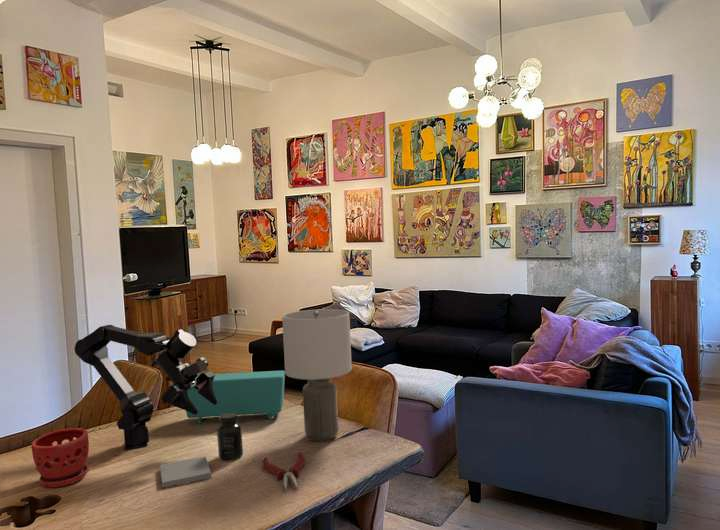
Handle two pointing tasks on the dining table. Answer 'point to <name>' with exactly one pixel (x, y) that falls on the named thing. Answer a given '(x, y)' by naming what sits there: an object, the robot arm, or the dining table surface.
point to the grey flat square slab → (185, 471)
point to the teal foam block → (241, 395)
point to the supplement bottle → (229, 437)
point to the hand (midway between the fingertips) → (206, 408)
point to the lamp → (318, 364)
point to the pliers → (282, 473)
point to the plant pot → (61, 456)
